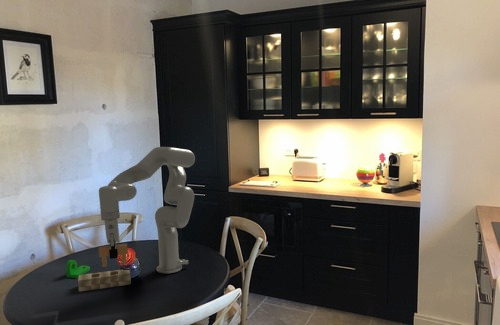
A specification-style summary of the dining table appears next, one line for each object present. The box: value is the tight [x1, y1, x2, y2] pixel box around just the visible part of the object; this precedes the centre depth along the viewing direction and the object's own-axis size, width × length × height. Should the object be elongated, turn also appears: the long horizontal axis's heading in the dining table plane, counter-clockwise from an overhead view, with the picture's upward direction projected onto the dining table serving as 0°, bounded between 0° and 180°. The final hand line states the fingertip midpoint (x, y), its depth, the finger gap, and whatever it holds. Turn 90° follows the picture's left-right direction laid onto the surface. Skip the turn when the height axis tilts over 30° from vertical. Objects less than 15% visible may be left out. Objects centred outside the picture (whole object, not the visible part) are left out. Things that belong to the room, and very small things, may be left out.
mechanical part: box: [65, 259, 91, 279], centre depth 203 cm, size 12×6×8 cm, turn 168°
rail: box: [77, 268, 132, 292], centre depth 188 cm, size 22×7×5 cm, turn 108°
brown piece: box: [98, 243, 129, 268], centre depth 178 cm, size 12×3×8 cm, turn 108°
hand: (113, 256), depth 178 cm, fingers closed on brown piece, 3 cm apart
